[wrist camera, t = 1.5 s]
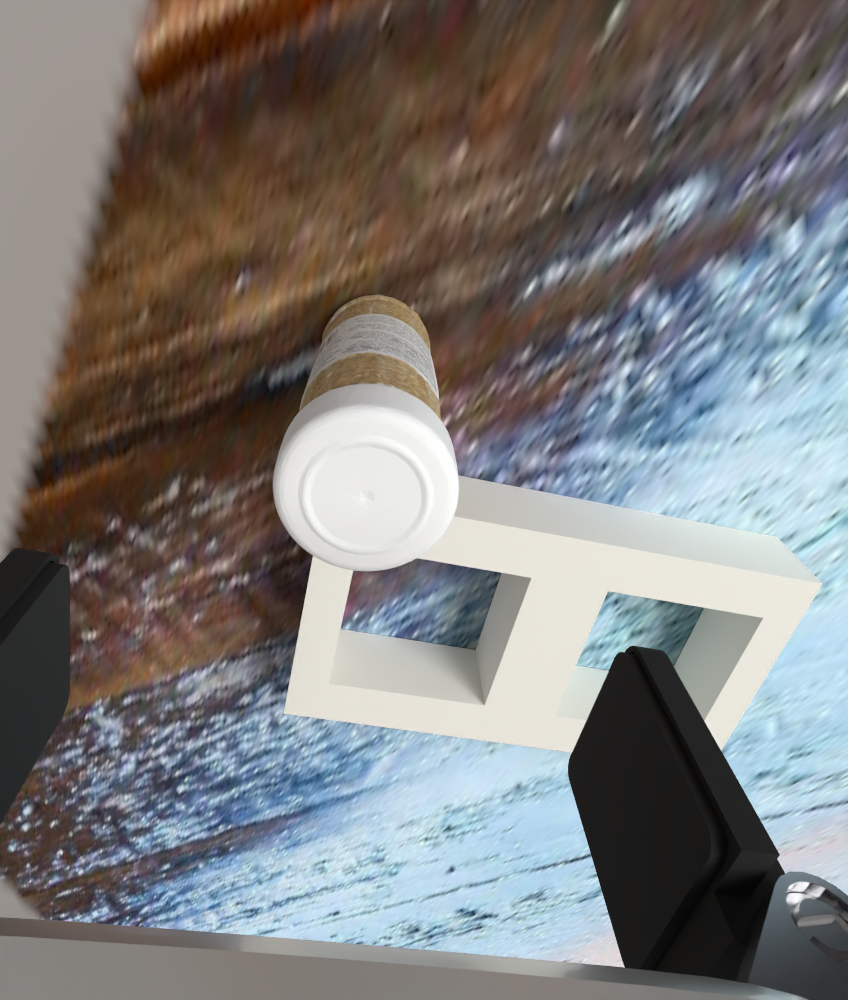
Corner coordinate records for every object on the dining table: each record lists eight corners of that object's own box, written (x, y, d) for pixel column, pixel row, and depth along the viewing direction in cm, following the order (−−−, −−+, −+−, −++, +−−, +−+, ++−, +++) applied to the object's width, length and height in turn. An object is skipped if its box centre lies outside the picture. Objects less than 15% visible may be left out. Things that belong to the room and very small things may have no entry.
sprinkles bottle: (383, 420, 30) (378, 608, 18) (298, 353, 28) (230, 510, 16) (454, 341, 28) (501, 488, 16) (368, 265, 26) (350, 367, 15)
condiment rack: (332, 451, 30) (324, 492, 27) (776, 536, 33) (822, 583, 30) (294, 656, 35) (283, 713, 32) (679, 713, 39) (708, 770, 35)
